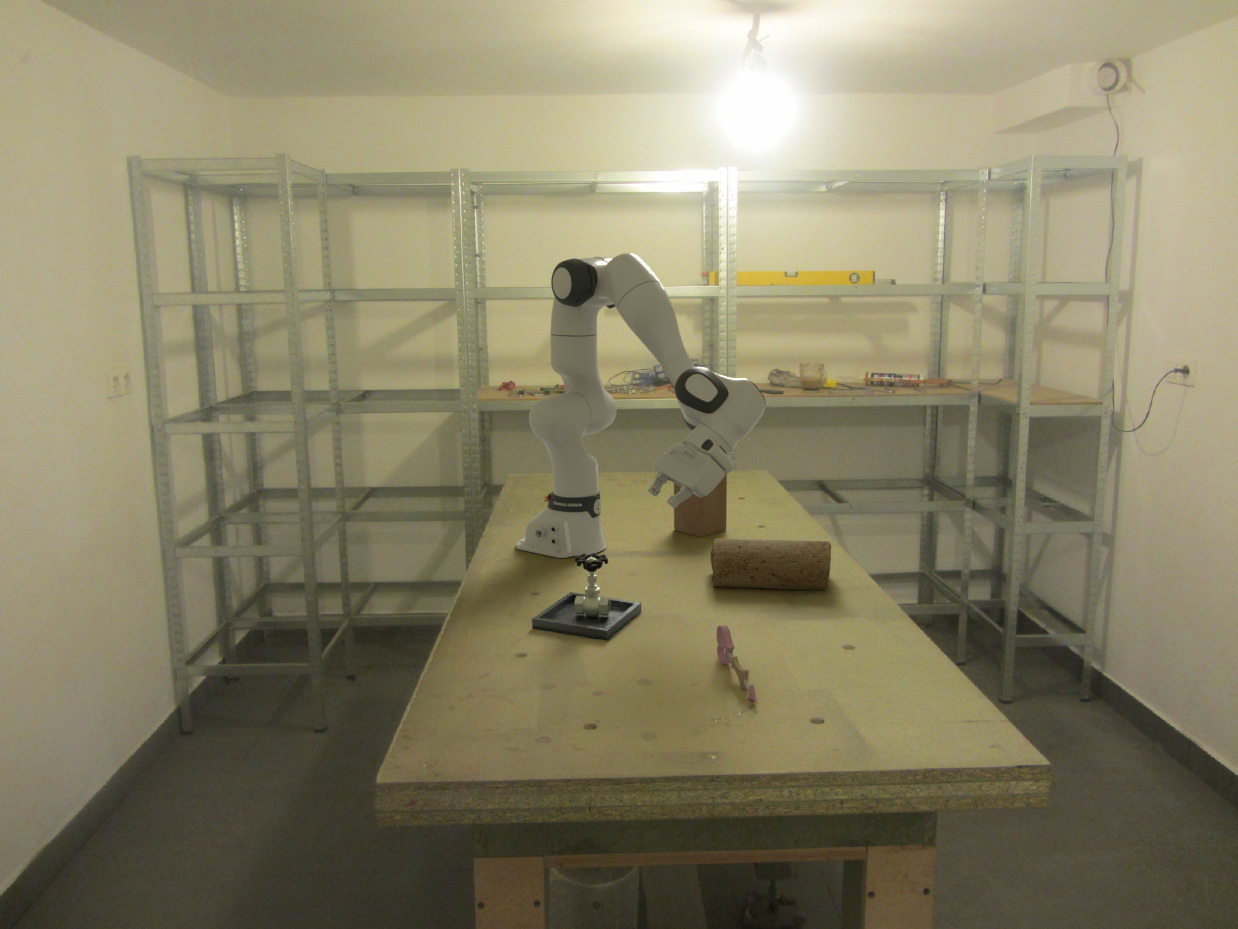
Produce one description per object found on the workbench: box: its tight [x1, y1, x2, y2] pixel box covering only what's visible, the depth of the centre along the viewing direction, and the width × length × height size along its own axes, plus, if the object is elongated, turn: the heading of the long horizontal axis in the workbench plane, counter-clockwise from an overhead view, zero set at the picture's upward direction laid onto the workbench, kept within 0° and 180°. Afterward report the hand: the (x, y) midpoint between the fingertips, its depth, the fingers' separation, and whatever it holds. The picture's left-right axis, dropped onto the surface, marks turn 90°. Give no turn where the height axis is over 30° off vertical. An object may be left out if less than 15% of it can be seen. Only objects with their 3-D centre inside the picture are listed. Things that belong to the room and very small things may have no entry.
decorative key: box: [716, 624, 758, 704], centre depth 150 cm, size 7×1×20 cm
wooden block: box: [673, 472, 728, 538], centre depth 237 cm, size 10×10×20 cm
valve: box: [574, 552, 611, 617], centre depth 178 cm, size 7×7×12 cm
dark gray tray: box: [531, 591, 642, 642], centre depth 178 cm, size 16×16×2 cm
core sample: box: [710, 537, 832, 590], centre depth 197 cm, size 14×26×10 cm, turn 82°
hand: (660, 499), depth 181 cm, fingers open, 8 cm apart
